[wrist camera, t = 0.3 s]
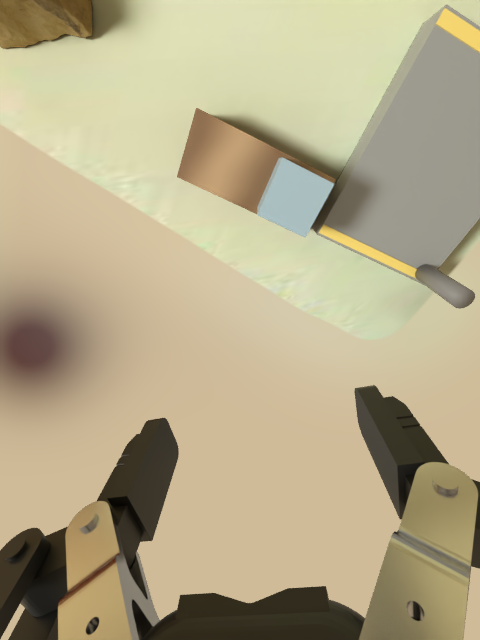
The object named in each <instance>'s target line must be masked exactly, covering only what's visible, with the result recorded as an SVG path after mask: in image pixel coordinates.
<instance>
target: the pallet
mask: <svg viewBox="0 0 480 640" xmlns="http://www.w3.org/2000/svg"><path fill="white" fill-rule="evenodd" d="M279 158H285V159H287V160H289V161H291V162H293V163H295V164H296V165H298V166H300V167H302V168H304V169H306V170H308V171H310V172H312V173H314V174H316V175H318V176H320V177H322V178H324V179H326V180H328V181H330V182H332V183H334V182H335V180H336V179H335V178H333V177H331V176H329V175H327V174H325V173H323V172H321V171H319V170H317V169H315V168H313V167H311V166H309V165H307V164H305V163H303V162H301V161H300V160H298V159H296V158H294V157H292V156H290V155H288V154H286V153H284V152H282V151H280V150H278V149H276V148H274V147H272V146H270V145H268V144H266V143H264V142H262V141H260V140H258V139H257V138H255V137H253V136H251V135H249V134H247V133H245V132H243V131H241V130H239V129H237V128H235V127H233V126H231V125H229V124H227V123H225V122H223V121H221V120H219V119H217V118H215V117H214V116H212V115H210V114H208V113H206V112H204V111H202V110H200V109H198V108H196V111H195V115H194V118H193V122H192V125H191V129H190V132H189V136H188V139H187V143H186V147H185V150H184V154H183V157H182V161H181V164H180V168H179V171H178V175H177V177H178V178H181V179H183V180H185V181H187V182H189V183H191V184H194V185H196V186H198V187H200V188H202V189H204V190H206V191H209V192H211V193H213V194H215V195H217V196H219V197H221V198H224V199H226V200H228V201H230V202H232V203H234V204H236V205H239V206H241V207H243V208H245V209H247V210H249V211H251V212H254V213H256V214H257V207H258V204H259V202H260V200H261V198H262V195H263V193H264V191H265V188H266V186H267V184H268V182H269V179H270V177H271V175H272V172H273V170H274V168H275V165H276V163H277V161H278V159H279Z"/></svg>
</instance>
